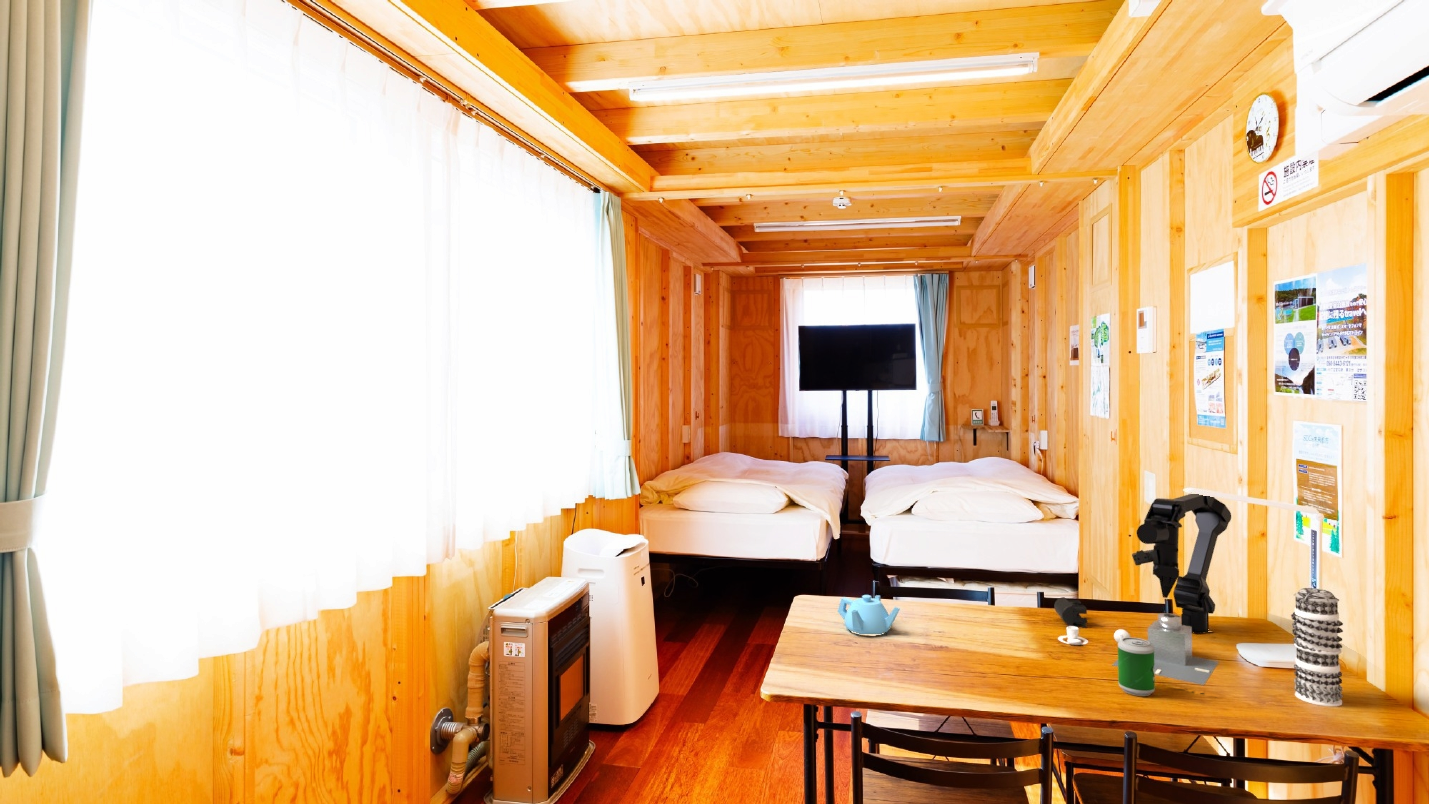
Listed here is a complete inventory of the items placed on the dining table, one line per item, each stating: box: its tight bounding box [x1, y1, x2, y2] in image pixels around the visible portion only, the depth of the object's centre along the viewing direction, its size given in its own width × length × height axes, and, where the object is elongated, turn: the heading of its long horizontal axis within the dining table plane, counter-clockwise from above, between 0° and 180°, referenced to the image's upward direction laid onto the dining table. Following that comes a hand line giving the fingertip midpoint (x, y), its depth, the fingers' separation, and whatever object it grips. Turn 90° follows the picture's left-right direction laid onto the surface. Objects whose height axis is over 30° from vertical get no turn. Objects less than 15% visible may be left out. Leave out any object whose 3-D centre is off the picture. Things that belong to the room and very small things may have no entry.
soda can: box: [1117, 636, 1156, 697], centre depth 173 cm, size 8×8×12 cm
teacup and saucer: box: [1057, 625, 1089, 646], centre depth 209 cm, size 9×8×4 cm
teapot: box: [837, 594, 901, 634], centre depth 222 cm, size 15×15×11 cm
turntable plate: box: [1111, 628, 1219, 686], centre depth 187 cm, size 20×20×10 cm
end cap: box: [1053, 596, 1088, 629], centre depth 225 cm, size 10×7×7 cm
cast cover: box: [1147, 612, 1193, 666], centre depth 191 cm, size 8×8×11 cm
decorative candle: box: [1290, 587, 1344, 708], centre depth 166 cm, size 9×9×25 cm
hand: (1164, 597), depth 207 cm, fingers closed
